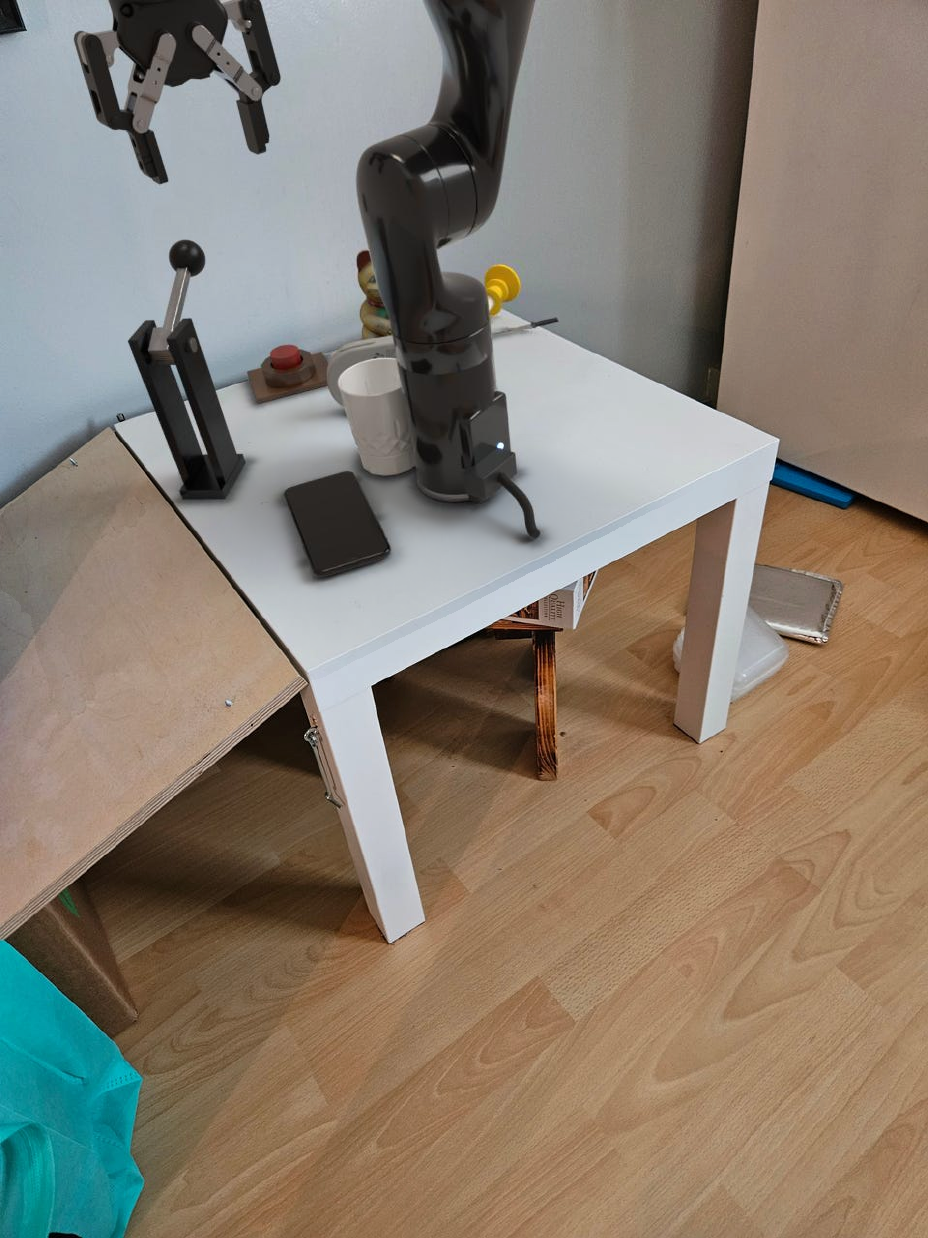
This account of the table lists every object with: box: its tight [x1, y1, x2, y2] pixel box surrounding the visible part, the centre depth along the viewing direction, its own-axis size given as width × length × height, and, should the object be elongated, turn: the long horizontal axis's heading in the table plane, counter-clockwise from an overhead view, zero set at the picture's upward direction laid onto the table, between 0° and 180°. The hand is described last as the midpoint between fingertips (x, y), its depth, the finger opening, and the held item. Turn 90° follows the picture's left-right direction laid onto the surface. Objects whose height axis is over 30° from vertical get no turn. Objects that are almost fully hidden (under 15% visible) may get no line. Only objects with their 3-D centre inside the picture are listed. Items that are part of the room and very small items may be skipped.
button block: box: [246, 348, 329, 404], centre depth 115 cm, size 10×8×2 cm
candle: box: [483, 264, 522, 317], centre depth 119 cm, size 5×5×16 cm
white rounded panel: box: [327, 336, 396, 408], centre depth 106 cm, size 20×2×8 cm, turn 98°
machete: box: [492, 317, 559, 337], centre depth 119 cm, size 14×2×1 cm, turn 104°
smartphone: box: [283, 470, 392, 578], centre depth 91 cm, size 8×1×16 cm
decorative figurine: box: [355, 248, 392, 340], centre depth 112 cm, size 10×8×15 cm
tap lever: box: [148, 239, 206, 366], centre depth 92 cm, size 14×4×4 cm, turn 173°
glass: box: [338, 358, 416, 476], centre depth 96 cm, size 8×8×10 cm
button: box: [269, 344, 301, 370], centre depth 114 cm, size 4×4×2 cm
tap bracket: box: [127, 317, 246, 501], centre depth 94 cm, size 7×6×18 cm
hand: (210, 166), depth 73 cm, fingers open, 8 cm apart
